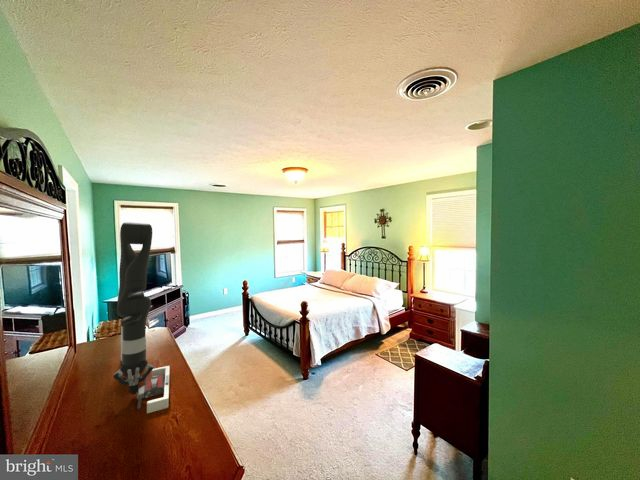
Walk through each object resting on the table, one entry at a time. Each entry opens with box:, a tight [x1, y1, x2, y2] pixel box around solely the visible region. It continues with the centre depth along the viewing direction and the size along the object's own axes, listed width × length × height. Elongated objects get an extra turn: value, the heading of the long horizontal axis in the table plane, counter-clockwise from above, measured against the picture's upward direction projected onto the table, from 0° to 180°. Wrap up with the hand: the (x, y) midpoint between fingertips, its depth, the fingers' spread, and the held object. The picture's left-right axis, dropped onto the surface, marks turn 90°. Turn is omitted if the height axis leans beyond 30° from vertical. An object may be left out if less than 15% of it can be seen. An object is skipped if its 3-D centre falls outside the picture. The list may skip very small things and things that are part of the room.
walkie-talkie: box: [136, 374, 165, 410], centre depth 100 cm, size 9×4×20 cm
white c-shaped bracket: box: [146, 365, 171, 414], centre depth 102 cm, size 26×6×4 cm, turn 30°
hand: (134, 393), depth 97 cm, fingers closed
